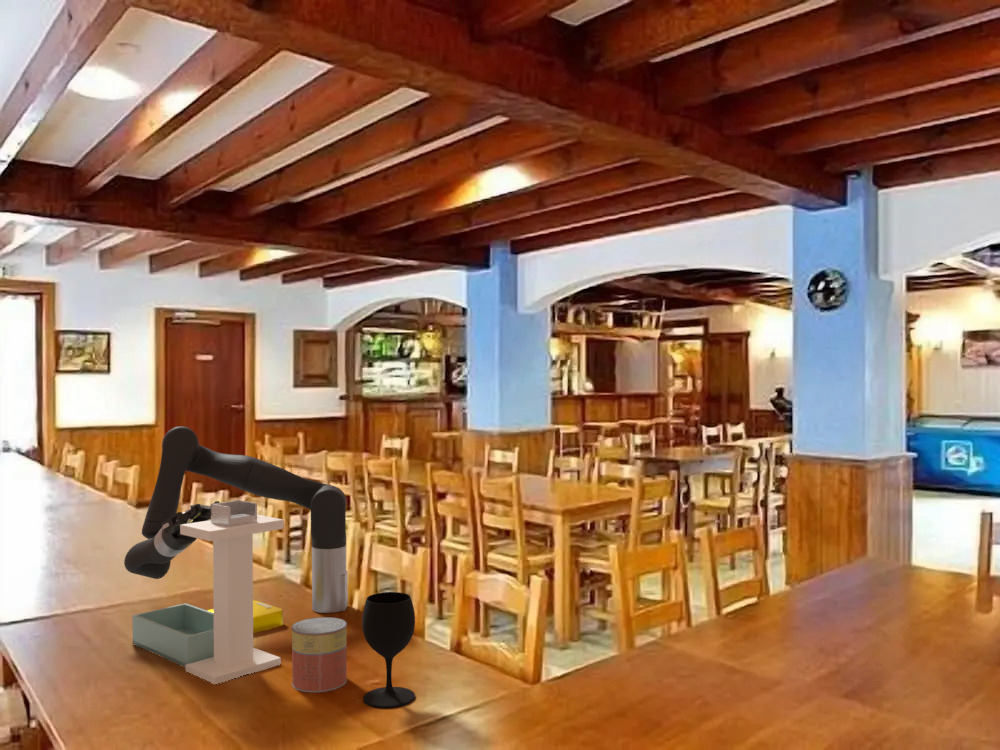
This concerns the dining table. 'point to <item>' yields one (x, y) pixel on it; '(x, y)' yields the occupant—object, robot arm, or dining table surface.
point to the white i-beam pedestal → (232, 600)
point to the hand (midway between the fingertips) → (209, 506)
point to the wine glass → (388, 641)
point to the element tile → (265, 616)
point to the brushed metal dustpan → (230, 513)
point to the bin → (176, 633)
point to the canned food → (319, 654)
